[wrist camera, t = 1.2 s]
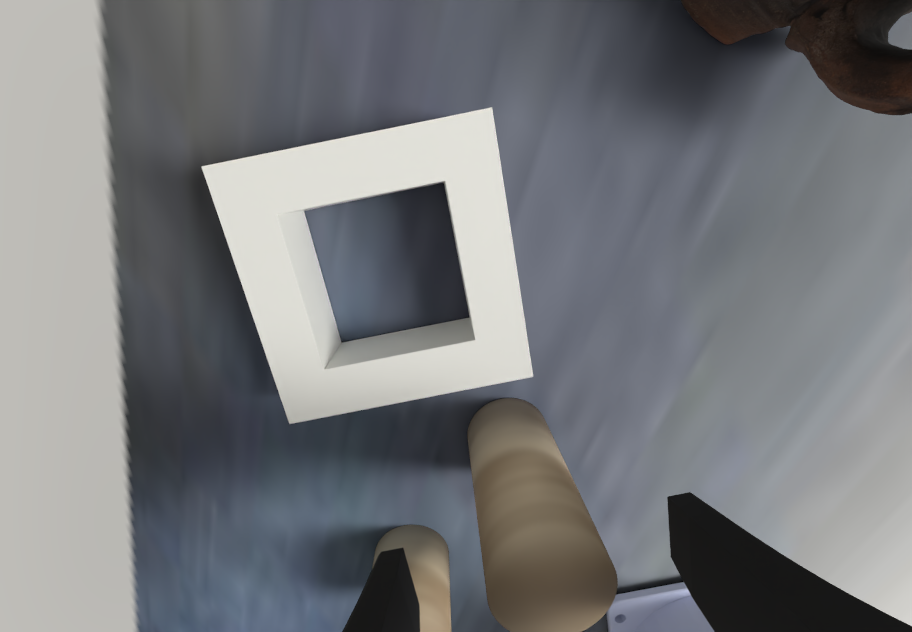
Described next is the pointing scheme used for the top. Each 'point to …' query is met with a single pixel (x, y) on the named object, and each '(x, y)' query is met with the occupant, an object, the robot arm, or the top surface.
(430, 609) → the short pin
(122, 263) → the top surface
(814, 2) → the pottery mug
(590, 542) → the long pin
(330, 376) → the collar
